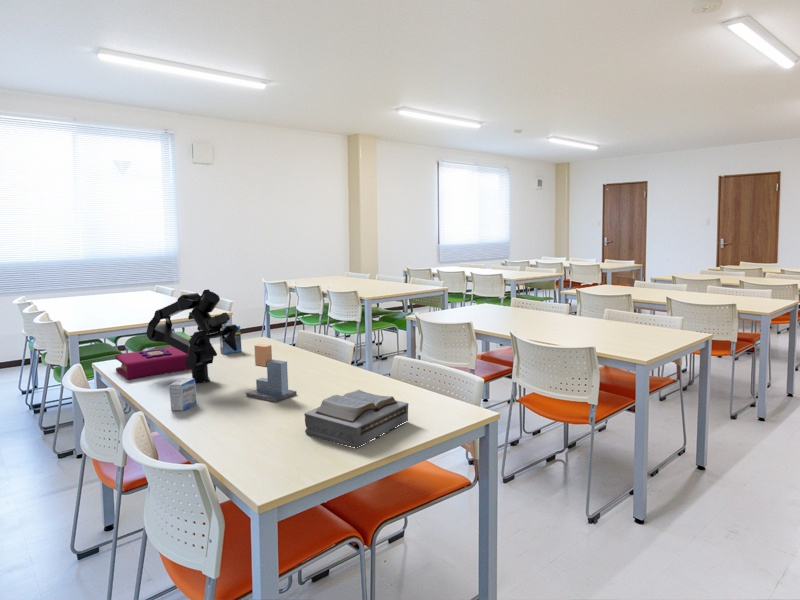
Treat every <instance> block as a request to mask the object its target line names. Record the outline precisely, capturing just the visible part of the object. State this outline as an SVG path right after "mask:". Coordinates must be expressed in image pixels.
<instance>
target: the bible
mask: <svg viewBox="0 0 800 600" xmlns="http://www.w3.org/2000/svg"><path fill="white" fill-rule="evenodd" d="M406 421H408V422H409V402H404V401H401V400H397V399H395V397H394V396H388V395H379V394H374V393H371V392H367V391H363V390H361V389H357V390H355V391H354V390H353V391H351V392H347V393H344V394H343V395H340V394H334V395H331V396H329V397H327V398H323V400H322V401H321V403H320V406H319V407H316V408H313V409H312V410H309V411H307V412H304V423H305V427H306V428H305V430H304V432H305V434H306V436H309V435H310V436H309V437H312V436H313V438H316V439H319V438H320V440H322V439H323V441H326V440H327V442H330V441H331V442H330V443H333V442H335V443H334V444H336V443H339V444H338V445H340V444H343V445H347V446H351V447H355V448H357V447H359V446H361V445H363V444H365V443H367V442H369V441H370V440H372V439H374V438H376V437H377V438H378V437H379V436H380V435H382V434H383V433H386V432H388V431H389V430H393V428H395V427H397V426H398V425H400V424H402V423H404V422H406ZM389 432H390V431H389ZM389 432H388V433H389ZM386 434H387V433H386ZM367 444H368V443H367ZM343 445H342V446H343ZM347 446H346V447H347Z"/></svg>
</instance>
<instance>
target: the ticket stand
mask: <svg viewBox="0 0 800 600" xmlns="http://www.w3.org/2000/svg"><path fill="white" fill-rule="evenodd" d="M266 375H267V377H260V378H258V379H257V378H256V379H255V383H256V384H255V385H256V389H253V390H250V391H248V392H245V397H249V398H253V399H257V400H262V401H267V402H271V403H279V402H281V401H284V400H286V399H289V398H291V397H294V396H296V395H297V394H298V393H297V391H296V390H293V389H289V377H288V361H287V360H286V361H284V360H279V359H273V358H272V360H269V361H267V367H266Z"/></svg>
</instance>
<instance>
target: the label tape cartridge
mask: <svg viewBox="0 0 800 600" xmlns="http://www.w3.org/2000/svg"><path fill="white" fill-rule="evenodd" d="M236 326H237V327H238V331H237V333H236V334H235V342H236V346H237V351H234V350H233V349H232V348H231V347H230V346H229V345H228V344H227V343H226V342H225V341H224V340H225V339H223V338H222V336H220V337H219V347H220V348H219V349H220V354H221V355H228V354H233V353H238V352H239V353H240V352H243V350H242V349H243V348H242V336H241V334H242V333H241V325H236ZM224 329H225V327H222V328H221V331H222V330H224Z"/></svg>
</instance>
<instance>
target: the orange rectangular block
mask: <svg viewBox="0 0 800 600" xmlns="http://www.w3.org/2000/svg"><path fill="white" fill-rule="evenodd" d="M272 353H273V351H272V345H271V344H264V343H258V344H255V345H254V361H255V362H254V363H255V366H257V367H262V368H267V361H269V360H273V356H272V355H273V354H272Z"/></svg>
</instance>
